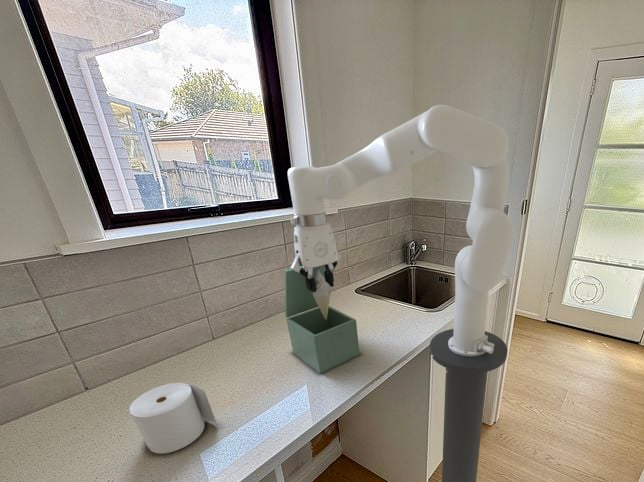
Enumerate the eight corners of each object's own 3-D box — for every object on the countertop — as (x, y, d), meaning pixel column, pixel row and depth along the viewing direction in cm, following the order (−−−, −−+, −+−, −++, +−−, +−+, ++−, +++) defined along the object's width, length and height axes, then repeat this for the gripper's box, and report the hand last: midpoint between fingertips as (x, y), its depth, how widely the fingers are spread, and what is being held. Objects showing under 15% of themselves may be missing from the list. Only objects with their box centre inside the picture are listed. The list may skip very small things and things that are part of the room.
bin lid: (331, 260, 95) (321, 251, 97) (285, 271, 86) (276, 261, 88) (327, 304, 105) (318, 294, 107) (286, 317, 97) (277, 307, 99)
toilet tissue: (141, 437, 73) (122, 401, 68) (200, 407, 81) (187, 373, 76) (157, 463, 66) (137, 425, 62) (219, 428, 74) (206, 392, 70)
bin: (359, 354, 101) (356, 319, 96) (320, 373, 92) (313, 336, 87) (331, 336, 111) (326, 304, 106) (293, 352, 102) (286, 318, 97)
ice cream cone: (333, 322, 94) (325, 272, 87) (315, 323, 94) (306, 272, 87) (335, 314, 99) (328, 266, 92) (318, 315, 98) (310, 266, 92)
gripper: (286, 227, 76) (299, 300, 84) (347, 217, 87) (354, 283, 95) (271, 223, 81) (286, 293, 89) (331, 214, 92) (339, 277, 100)
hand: (321, 287), depth 92 cm, fingers closed on ice cream cone, 4 cm apart
